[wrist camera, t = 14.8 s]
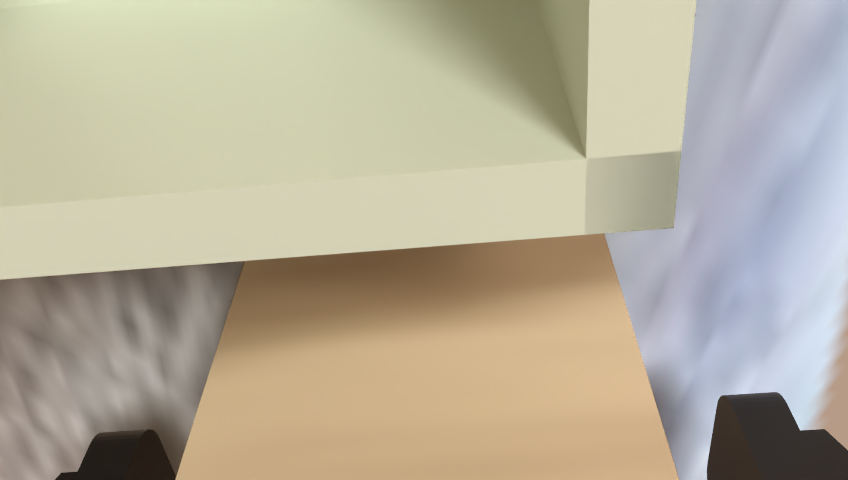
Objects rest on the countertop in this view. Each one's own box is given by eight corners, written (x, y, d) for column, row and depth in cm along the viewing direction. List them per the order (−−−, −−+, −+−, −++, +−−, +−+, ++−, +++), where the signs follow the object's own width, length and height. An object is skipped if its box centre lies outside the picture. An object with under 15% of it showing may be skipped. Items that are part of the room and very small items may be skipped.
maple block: (252, 234, 12) (158, 532, 8) (594, 201, 11) (685, 496, 7) (319, 455, 15) (276, 756, 11) (594, 434, 14) (657, 739, 10)
